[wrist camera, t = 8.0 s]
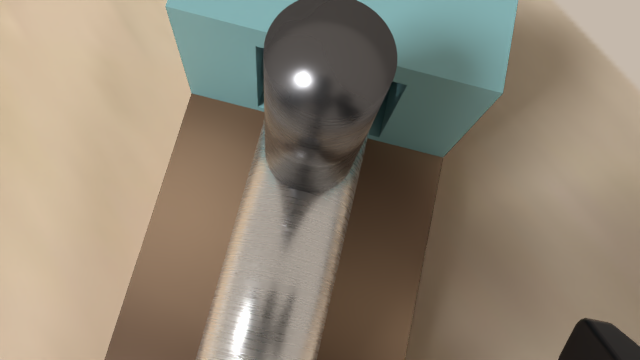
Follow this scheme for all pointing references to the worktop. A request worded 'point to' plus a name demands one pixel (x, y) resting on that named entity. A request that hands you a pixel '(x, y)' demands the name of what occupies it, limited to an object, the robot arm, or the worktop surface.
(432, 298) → the worktop surface
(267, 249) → the slip tube
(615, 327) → the robot arm
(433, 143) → the socket block
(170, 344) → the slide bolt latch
